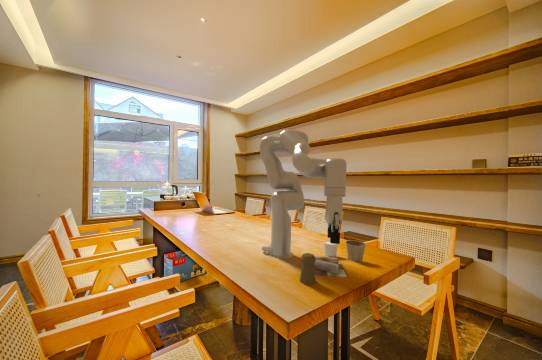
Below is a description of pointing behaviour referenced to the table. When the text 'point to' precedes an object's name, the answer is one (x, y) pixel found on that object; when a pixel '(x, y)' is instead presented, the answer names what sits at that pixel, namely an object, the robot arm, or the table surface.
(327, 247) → the shot glass
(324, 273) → the board
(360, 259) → the flower pot
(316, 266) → the jaw
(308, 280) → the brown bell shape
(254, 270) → the table surface
